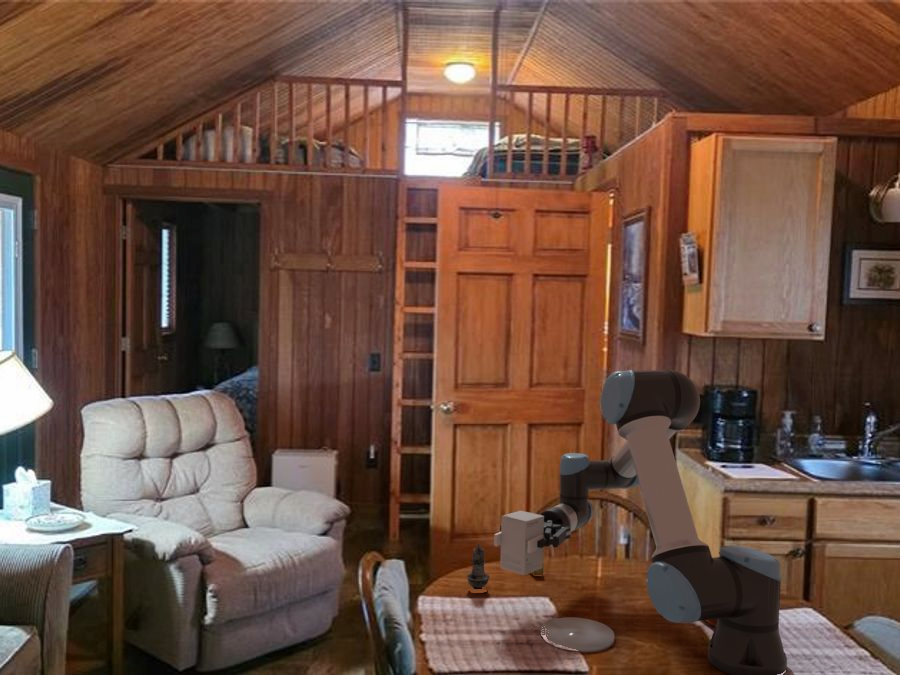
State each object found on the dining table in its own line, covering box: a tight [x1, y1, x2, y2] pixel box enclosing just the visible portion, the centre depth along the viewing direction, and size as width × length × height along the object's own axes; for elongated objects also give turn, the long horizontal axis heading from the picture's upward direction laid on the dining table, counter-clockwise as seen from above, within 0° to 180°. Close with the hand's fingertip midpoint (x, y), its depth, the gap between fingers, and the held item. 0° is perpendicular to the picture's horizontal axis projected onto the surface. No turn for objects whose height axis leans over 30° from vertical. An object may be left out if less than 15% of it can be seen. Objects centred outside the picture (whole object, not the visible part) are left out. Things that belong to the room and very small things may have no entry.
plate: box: [540, 616, 615, 653], centre depth 174 cm, size 16×16×1 cm
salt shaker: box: [466, 543, 490, 589], centre depth 201 cm, size 6×6×12 cm
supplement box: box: [499, 510, 544, 576], centre depth 186 cm, size 7×7×13 cm
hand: (512, 543), depth 182 cm, fingers closed on supplement box, 8 cm apart
